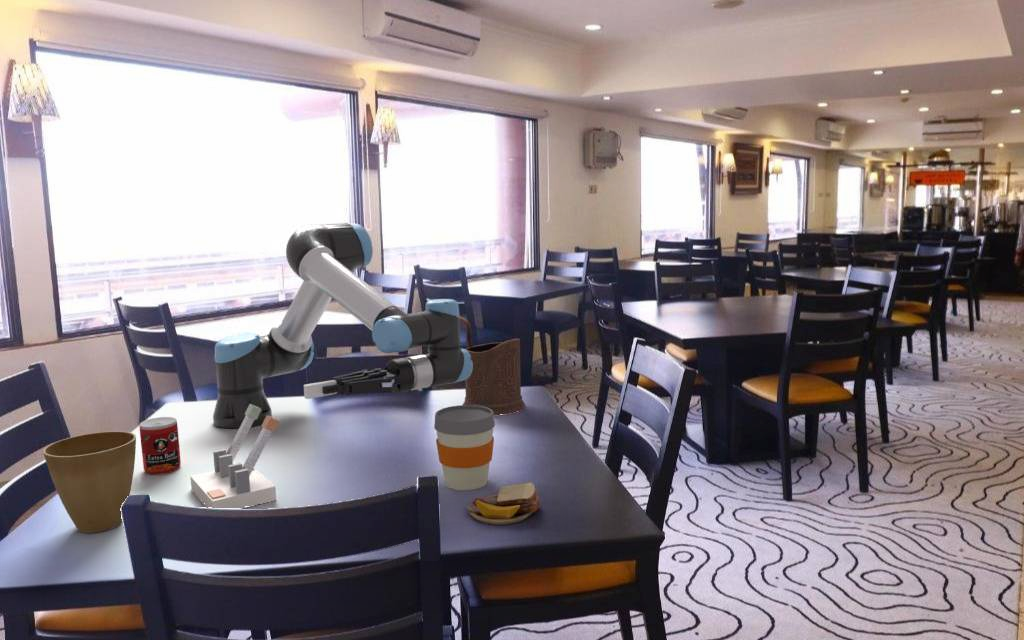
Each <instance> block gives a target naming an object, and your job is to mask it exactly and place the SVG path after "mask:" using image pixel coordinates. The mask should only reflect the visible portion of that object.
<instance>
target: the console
mask: <svg viewBox="0 0 1024 640" xmlns="http://www.w3.org/2000/svg"><path fill="white" fill-rule="evenodd" d="M226 453H227V450H226V448H222V449H218V450H213V451H212V454H213V466H214V470H212V471H207V472H203V473H197V474H192V475H190V487H191V491H192V490H193V491H192V492H193V493H194V495H195V496H196V495H197V496H198V497H199V498H200V499H201V500H202V501H201V500H200V499H199V498H198V497H197V496H196V497H197V498H198V499H199V500H200V501H201V503H202V502H203V503H205V505H206V506H207V507H212V508H245V506H252V505H256V504H261V505H264V504H263V503H265V504H267V503H266V502H269V503H272V502H271V501H273V502H275V501H274V500H276V501H277V491H276V485H274V484H273V482H271V481H270V480H269V479H267V477H266V476H264V475H263V474H262V473H261V472H259V471H258V470H257V469H256V468H255V467H254V468H253V470H252V472H251V474H250V476H249V470H248V469H243V470H241V469H242V467H243V465H244V463H241V462H239V463H238V462H236V463H234V461H232V455H231V454H228V455H226ZM235 483H236V484H235ZM203 503H202V504H203ZM205 505H204V506H205ZM206 506H205V507H206ZM207 507H206V508H207ZM245 509H246V508H245Z"/></svg>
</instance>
